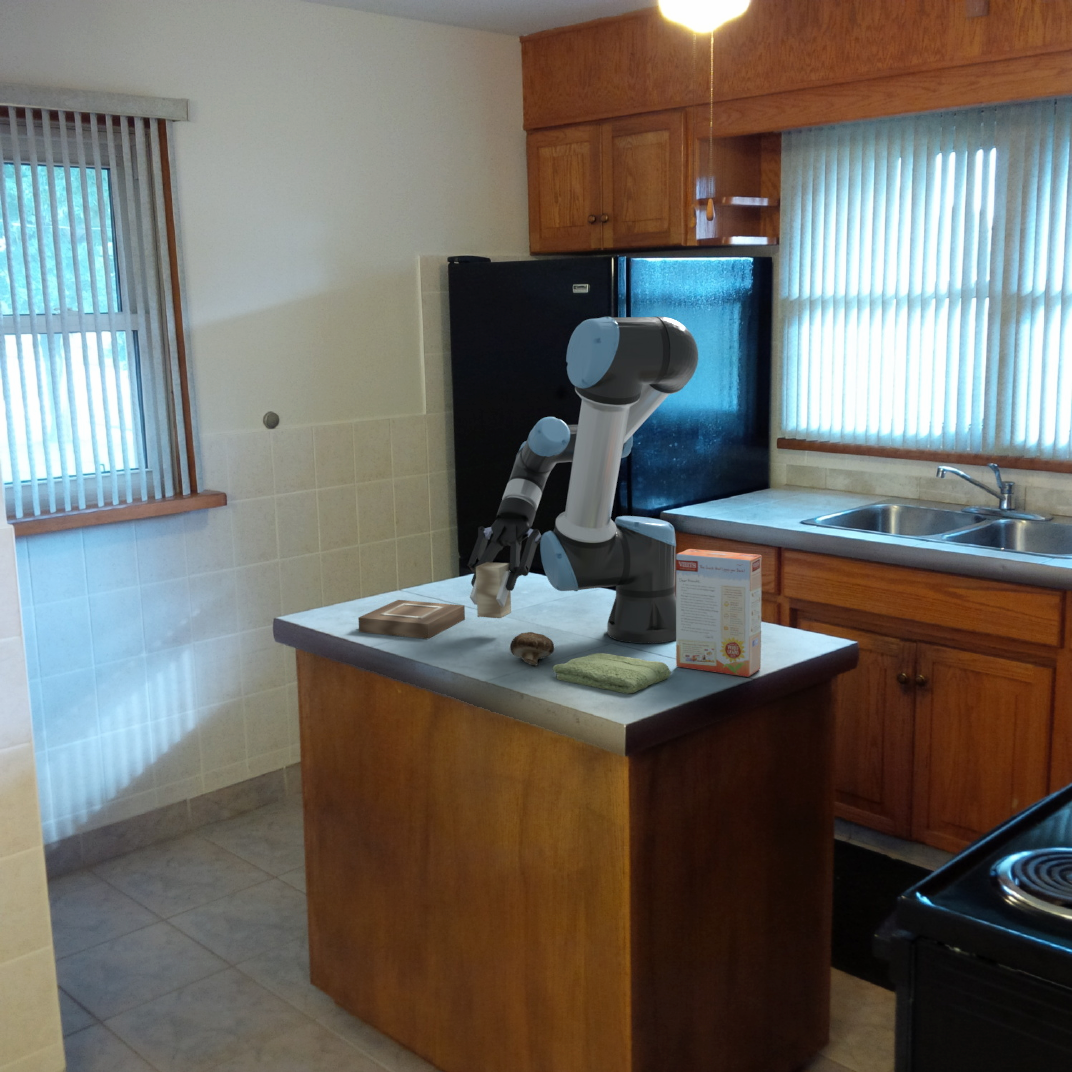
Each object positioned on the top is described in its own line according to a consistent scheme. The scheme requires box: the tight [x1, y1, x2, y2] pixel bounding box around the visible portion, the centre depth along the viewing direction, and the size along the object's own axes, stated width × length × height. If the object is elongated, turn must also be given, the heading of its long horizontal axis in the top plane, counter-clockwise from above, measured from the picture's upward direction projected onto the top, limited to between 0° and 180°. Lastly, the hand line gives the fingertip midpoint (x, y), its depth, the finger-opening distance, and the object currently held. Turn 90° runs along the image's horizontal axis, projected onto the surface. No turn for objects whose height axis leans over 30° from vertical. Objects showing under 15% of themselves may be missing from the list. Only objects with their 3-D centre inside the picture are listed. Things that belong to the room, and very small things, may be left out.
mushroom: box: [509, 631, 555, 666], centre depth 211 cm, size 8×8×6 cm
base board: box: [357, 599, 466, 640], centre depth 238 cm, size 16×16×3 cm
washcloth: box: [552, 652, 672, 695], centre depth 201 cm, size 13×18×3 cm
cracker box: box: [675, 548, 763, 678], centre depth 203 cm, size 14×6×21 cm, turn 58°
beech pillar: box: [476, 562, 512, 619], centre depth 228 cm, size 5×5×10 cm
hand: (486, 601), depth 225 cm, fingers closed on beech pillar, 5 cm apart
